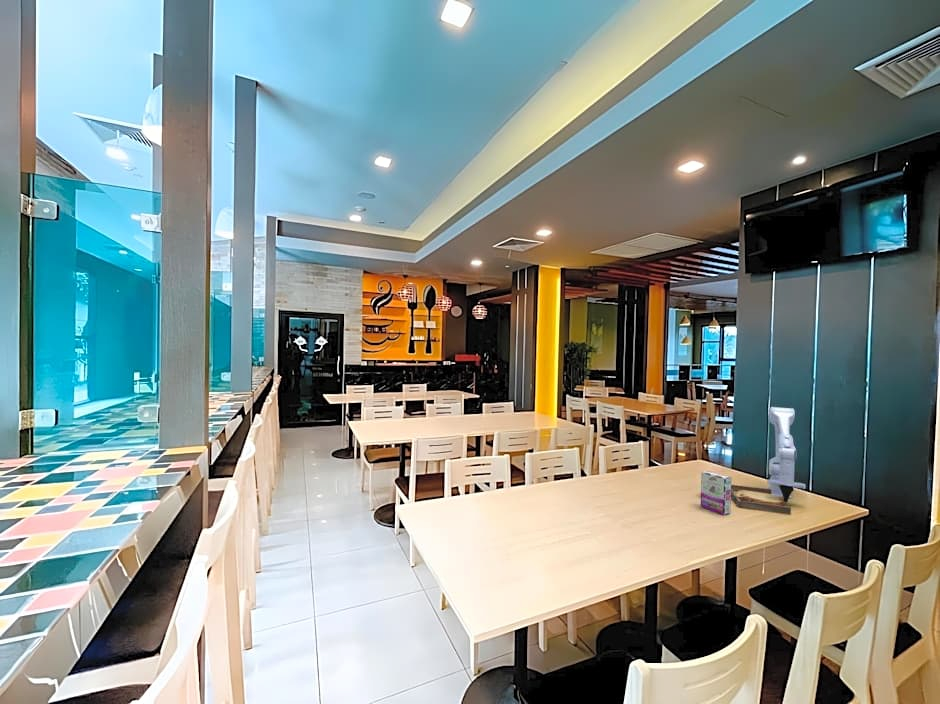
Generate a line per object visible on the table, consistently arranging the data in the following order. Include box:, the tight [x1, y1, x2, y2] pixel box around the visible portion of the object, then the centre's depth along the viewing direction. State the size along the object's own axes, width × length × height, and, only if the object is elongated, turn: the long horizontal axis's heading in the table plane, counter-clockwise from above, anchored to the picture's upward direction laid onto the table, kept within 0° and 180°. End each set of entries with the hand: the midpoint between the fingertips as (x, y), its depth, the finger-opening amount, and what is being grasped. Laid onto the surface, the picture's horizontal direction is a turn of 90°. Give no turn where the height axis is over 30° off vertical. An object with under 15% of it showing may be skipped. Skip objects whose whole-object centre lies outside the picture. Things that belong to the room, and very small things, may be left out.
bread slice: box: [734, 490, 786, 506], centre depth 200 cm, size 18×18×4 cm
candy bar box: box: [700, 470, 732, 516], centre depth 186 cm, size 11×5×16 cm, turn 27°
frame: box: [731, 484, 792, 515], centre depth 199 cm, size 26×20×3 cm
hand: (785, 501), depth 196 cm, fingers closed
